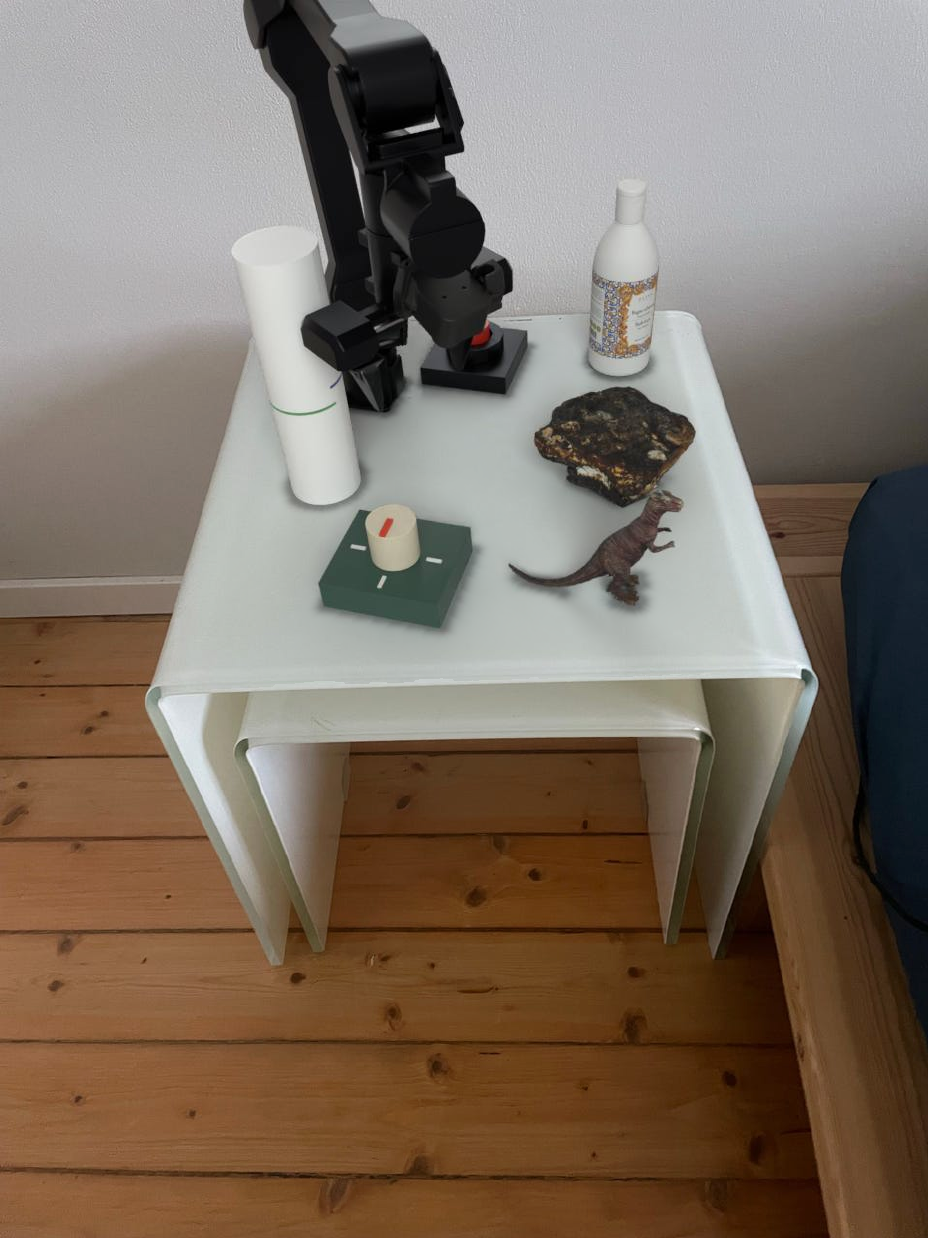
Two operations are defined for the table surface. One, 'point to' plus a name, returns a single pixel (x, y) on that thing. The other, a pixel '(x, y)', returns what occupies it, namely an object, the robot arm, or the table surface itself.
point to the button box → (479, 363)
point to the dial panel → (398, 575)
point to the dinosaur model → (621, 551)
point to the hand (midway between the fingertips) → (419, 388)
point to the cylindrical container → (297, 361)
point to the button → (482, 335)
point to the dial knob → (393, 537)
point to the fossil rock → (615, 442)
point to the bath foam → (624, 287)
